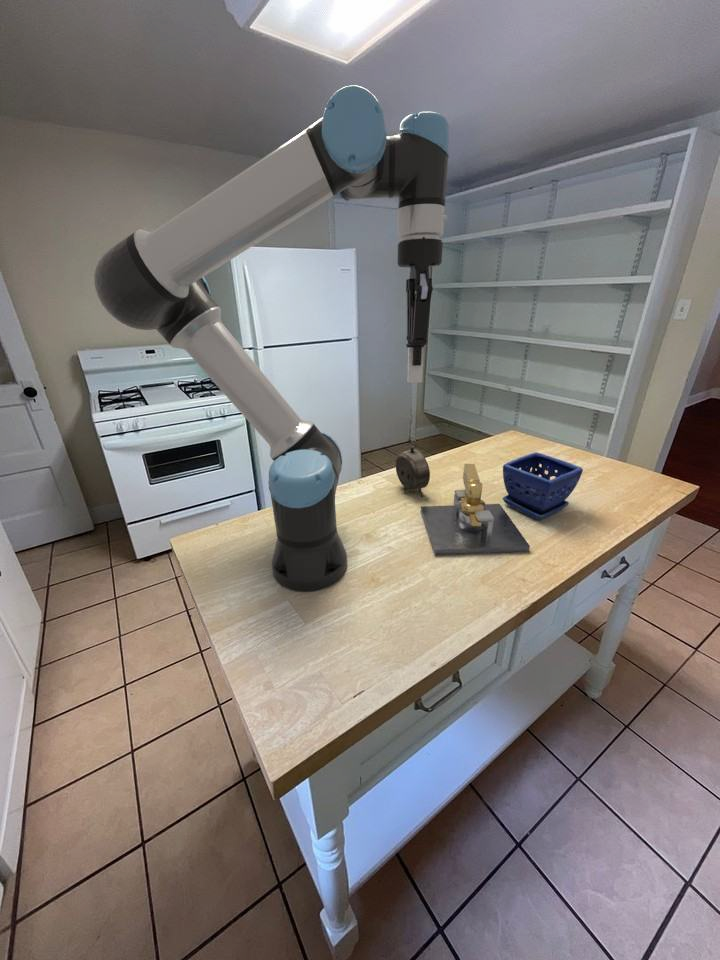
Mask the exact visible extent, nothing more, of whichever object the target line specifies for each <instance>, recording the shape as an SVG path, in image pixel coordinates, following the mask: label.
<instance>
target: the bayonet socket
mask: <svg viewBox="0 0 720 960" xmlns="http://www.w3.org/2000/svg"><path fill="white" fill-rule="evenodd" d="M453 495H454V496H453V505H428V506H427V505H424V506H420V514H421V517H422V521H423V523H424V526H425V530H426V533H427V536H428V539H429V542H430V545H431V549H432V551H433V554H434V556H457V555H459V556H460V555H484V554H485V555H487V554H514V553H530V549H531V546H530V544H529V543H528V542H527V540H526V538H525V537H524V535H523V534H522V533H521V531H520V530H519V529H518V527H517V526H516V524H515V523H514V522H513V520H512V519H511V517H510V516H509V514H508V513H507V512H506V510H505V509H504V508H503V506H502V505H501V504H500V503H485V510H482V511H474V514H475V516H476V518H477V519H478V521H481V526H471V523H470V516H468V515H465V514H463V513H462V512H461V510H460V508H461V500H462V499H464V498H467V494H466V490H465V489H454V494H453Z"/></svg>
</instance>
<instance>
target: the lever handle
mask: <svg viewBox="0 0 720 960" xmlns="http://www.w3.org/2000/svg"><path fill="white" fill-rule="evenodd" d="M462 481H463V486H464V490H466V494H467V498H464V499H462V500H461V508H460V510H461V512H462V513H463V514H465V515H468V516H470V523H471V526H481V521H478V519H477V518H476V516H475V514H474V511H482V510H485V504H486V502H485V501H484V500H483V499H482V491H483V483H482V482H481V481H480V476H479V473H478V471H477V467H476V464H475V463H464V464H463V473H462Z"/></svg>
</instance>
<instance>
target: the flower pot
mask: <svg viewBox="0 0 720 960" xmlns="http://www.w3.org/2000/svg"><path fill="white" fill-rule="evenodd" d="M540 465H541V466H540ZM583 470H584V468H583V467H581V466H578V465H576V464H574V463H570V462H568V461H565V460H562V459H560V458H559V459H558V458H556V457H553V456H549V455H548V454H547V455H546V454H543V453H541V452H536V451H535V452H532V453H529V454H526V455H523V456H520V457H518V458H516V459H513V460H510V461H508V462H505V463H504V464H503V465H502V479H503V483H504V487H505V491H506V492H507V494H506V495H504V496H502V500H503V502H504V503H505V504H506V505H507V506H508V507H510V508H513V509H514V510H516V511H518V512H521V513H522V514H524V515H527V516H528V517H531V518H533V519H534V520H536V521H540V520H543V519H545V518H547V517H549V516H551V515H553V514H555V513H557V512H559V511H561V510H563V509H564V508H566V507H567V506H568V505H569V504H570V503H569V502H568V501H567V500H566V499H567V498H568V497H569V496H570V495H571V494H572V493H573V491H574V490H575V488H576V487H577V485H578V483H579V481H580V479H581V476H582V474H583ZM546 472H547V473H546ZM552 477H554V478H553V479H551V478H552Z"/></svg>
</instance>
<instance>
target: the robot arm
mask: <svg viewBox="0 0 720 960" xmlns="http://www.w3.org/2000/svg"><path fill="white" fill-rule="evenodd" d="M386 126H387V125H386V122H385V116H384V112H383V108H382V106H381V104H380V102H379V100H378V99H377V98H376V96H375V95H374V94H373V93H372V92H370V91H369V89H367V88H365V87H363V86H360V85H355V84H354V85H351V84H350V85H346V86H344V87H342V88H340V89H338V90H337V91H335V92H334V93H333V95H332V96H330V99H329V100H328V102H327V104H326V107H325V108H324V111H323V115H322V117H321V118H319V119H318V120H317V121H315V122H314V123H313V124H311V125H309V126H308V127H307V128H305V129H304V130H303V131H302V132H300V133H299V134H297V135H296V136H294V137H293V138H291V139H290V140H288V141H287V142H285V143H283V144H282V145H280V146H279V147H278V148H276V149H275V150H273V151H272V152H270V153H268V154H267V155H265V156H264V157H262V158H261V159H259V160H258V161H257V162H255V163H253V164H252V165H250V166H249V167H248V168H245V170H243V171H241V172H240V173H239V174H237V175H235V176H233V178H231V179H229V180H228V181H226V182H224V184H222V185H220V186H219V187H218V188H216V189H215V190H213V191H211V192H210V193H208V194H207V195H205V196H204V197H202V198H201V199H200V200H197V202H195V203H194V204H193V205H191V206H189V207H188V208H186V209H185V210H183V211H181V212H179V213H178V214H177V215H175V216H174V217H173V218H171V219H170V220H168V221H167V222H165V223H164V224H162V225H161V226H159V227H157V228H156V229H155V230H154V231H152V232H150V231H147V230H144V229H137V230H136V231H134V232H133V233H131V234H130V235H128V236H127V237H125V238H124V239H123V240H121V241H119V242H118V243H117V244H115V245H114V246H112V247H111V248H109V250H108V251H106V252H105V253H104V254H103V255H102V256H101V257H100V259H99V260H98V263H97V265H96V267H95V270H94V274H93V275H94V276H93V277H94V279H93V280H94V281H93V282H94V287H95V292H96V295H97V298H98V299H99V301H100V303H101V305H102V306H103V307H104V309H105V311H107V313H108V314H109V315H111V316H112V317H113V318H114V319H115V320H116V321H118V322H120V323H121V324H123V325H124V326H125V325H126V326H127V327H130V328H133V329H136V330H143V331H150V330H151V331H152V330H156V331H157V332H158V334H160V336H161V337H162V338H163V339H164V340H165V341H166V342H167V343H168V344H169V345H170V347H171V348H174V349H181V350H184V351H186V352H187V353H188V355H189V356H190V357H191V358H192V359H193V360H194V361H195V363H196V364H197V365H198V366H199V367H200V368H201V369H202V370H203V372H204V373H205V374H206V375H207V376H208V378H210V379H211V381H212V382H213V383H214V384H215V386H216V387H217V388H218V389H219V390H220V391H221V392H222V393H223V394H224V396H225V397H226V398H227V399H228V400H229V401H230V402H231V403H232V404H233V406H234V407H235V408H236V409H237V410H238V411H239V412H240V413H241V415H242V416H243V417H244V418H245V419H246V420H247V421H248V422H249V424H250V425H251V427H252V428H254V429H255V430H256V431H257V433H258V434H259V435H260V436H261V437H262V438H263V440H264V441H265V442H266V443H267V444H268V445H269V449H270V450H269V451H270V452H269V458H270V459H272V463H271V465H270V466H269V469H268V481H267V482H268V490H269V493H270V498H271V505H272V513H273V517H274V525H275V531H276V537H277V539H276V542H275V547H274V551H273V555H272V560H271V567H272V573H273V577H274V579H275V580H276V582H277V583H279V585H280V586H282V587H284V588H286V589H288V590H292V591H297V592H313V591H318V590H322V589H325V588H327V587H329V586H332V585H333V584H335V583H336V582H338V581H340V579H341V578H342V577H343V576H344V575H345V573H346V571H347V568H348V554H347V550H346V548H345V546H344V544H343V541H342V539H341V537H340V535H339V532H338V530H337V514H336V513H337V512H336V493H337V488H338V483H339V478H340V474H341V472H342V468H343V457H342V451H341V448H340V446H339V444H338V443H337V441H336V439H334V438H333V437H332V436H331V435H329V434H327V433H325V432H322V431H320V429H319V428H318V427H317V426H316V425H315V423H314V421H313V422H312V421H310V420H309V421H308V420H304V419H302V418H301V417H300V416H299V415H298V414H297V412H296V411H295V410H294V409H293V407H292V406H291V405H290V404H289V402H288V401H287V400H286V399H285V398H284V397H283V396H282V394H281V393H280V392H279V391H278V389H277V388H276V387H275V386H274V384H273V383H272V382H271V381H270V379H268V377H267V376H266V375H265V374H264V372H263V371H262V370H261V368H260V367H258V365H257V363H256V362H254V360H253V359H252V358H251V356H250V355H249V354H248V353H247V352H246V350H245V349H244V348H243V347H242V345H241V344H240V343H239V342H238V341H237V339H235V337H234V336H233V334H232V333H230V331H229V329H227V328H226V326H225V325H224V324H223V322H222V319H221V318H222V308H220V306H219V305H218V304H217V302H216V301H215V300H214V299H213V298H212V296H211V290H210V287H209V284H208V282H207V280H206V278H205V277H206V276H207V275H208V274H210V273H211V272H214V271H215V270H217V269H219V268H220V267H221V266H223V265H224V264H226V263H228V262H229V261H231V260H233V259H234V258H236V257H237V256H239V255H241V254H242V253H244V252H245V251H247V250H248V249H250V248H252V247H254V246H256V245H257V244H258V243H260V242H262V241H263V240H265V239H266V238H268V237H270V236H272V234H274V233H276V232H278V231H279V230H280V229H281V230H282V229H283V228H284V227H285V226H287V225H289V224H291V223H292V222H293V221H296V220H297V219H299V218H300V217H301V216H303V215H304V214H307V213H308V212H310V211H311V210H313V209H314V208H316V207H318V206H320V205H321V204H323V203H324V202H326V201H328V200H329V199H331V200H343V201H346V202H347V201H350V200H362V199H363V200H364V199H381V198H382V199H383V198H388V199H390V198H392V199H393V198H398V210H397V237H398V239H400V241H399V242H398V244H397V266H398V267H400V268H409V269H410V270H409V278H408V279H407V278H406V280H405V292H406V342H407V343H406V345H405V346H406V348H407V379H406V380H407V383H408V384H409V383H410V384H411V383H413V384H415V383H423V377H424V375H423V374H424V356H425V355H424V353H425V346H426V345H427V343H428V331H429V330H428V329H429V321H430V309H431V299H432V294H433V291H434V287H433V284H432V283H433V279H432V278H431V277H430V268H431V267H439V266H441V264H442V261H443V247H444V245H443V244H444V243H443V241H442V239H440V238H441V237H442V236H443V235H444V225H445V223H447V221H448V217H449V216H448V215H446V214H445V208H446V197H447V196H446V194H447V183H448V181H447V179H448V168H449V158H450V152H449V141H450V140H449V138H450V137H449V135H450V134H449V133H450V127H449V126H450V125H449V122H448V119H447V118H446V116H444V115H442V114H441V113H438V112H436V111H435V112H434V111H420V112H419V113H412V114H409V115H407V116H406V117H404V118H403V119H402V120H401V122H400V124H399V130H398V134H396V135H390V136H388V135H387V129H386V128H387V127H386Z"/></svg>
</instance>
